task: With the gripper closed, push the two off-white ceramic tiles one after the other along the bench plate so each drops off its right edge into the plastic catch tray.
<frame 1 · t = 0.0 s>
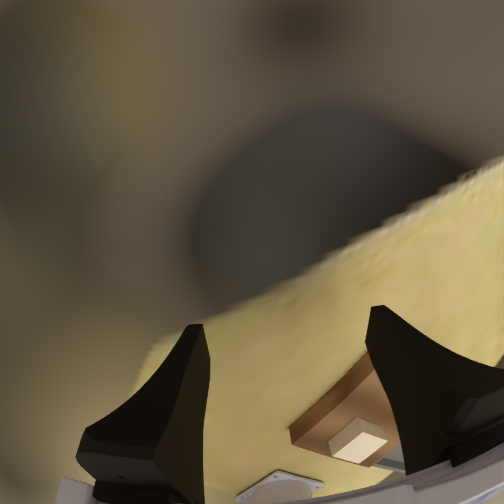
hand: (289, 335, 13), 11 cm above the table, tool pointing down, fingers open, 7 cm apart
catch tray: (431, 428, 30), on the table
tile 2: (355, 434, 26), point 2 cm above the table, touching bench plate
bench plate: (375, 403, 28), on the table
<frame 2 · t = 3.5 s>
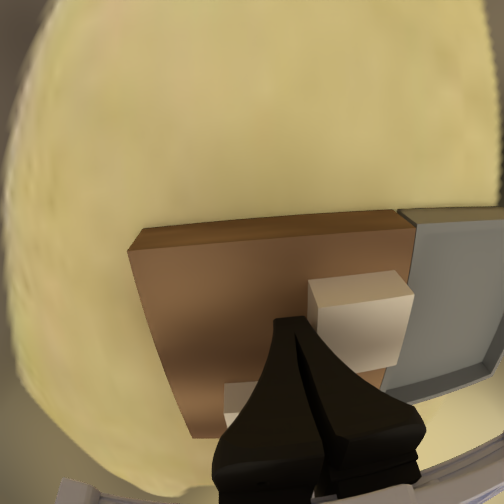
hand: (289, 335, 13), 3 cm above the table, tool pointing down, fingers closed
catch tray: (456, 307, 17), on the table
tile 1: (349, 312, 14), point 2 cm above the table, touching bench plate, gripper
tile 2: (264, 402, 16), point 2 cm above the table, touching bench plate
bench plate: (276, 336, 17), on the table
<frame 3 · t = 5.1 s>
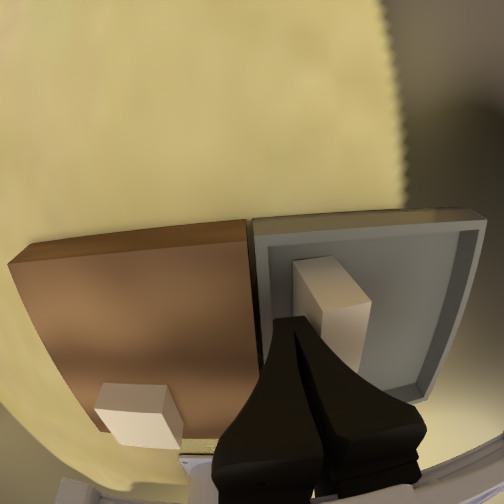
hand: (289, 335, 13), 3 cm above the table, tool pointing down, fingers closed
catch tray: (362, 325, 17), on the table
tile 1: (304, 321, 14), point 3 cm above the table, tilted 97°, touching catch tray, gripper
tile 2: (144, 405, 16), point 2 cm above the table, touching bench plate
bench plate: (153, 343, 17), on the table
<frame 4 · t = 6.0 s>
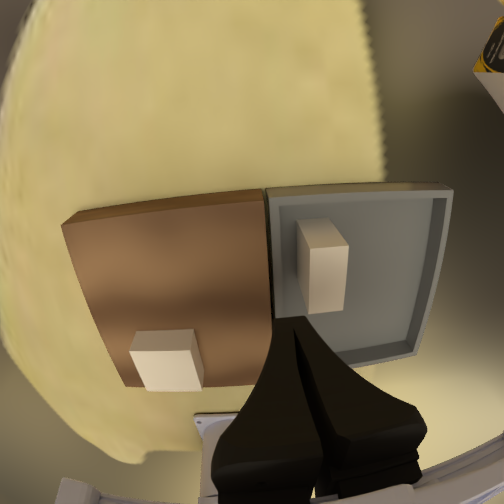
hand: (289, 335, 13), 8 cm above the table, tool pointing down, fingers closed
catch tray: (355, 280, 21), on the table
tile 1: (302, 265, 18), point 2 cm above the table, tilted 90°, touching catch tray
tile 2: (171, 351, 20), point 2 cm above the table, touching bench plate
bench plate: (180, 296, 21), on the table
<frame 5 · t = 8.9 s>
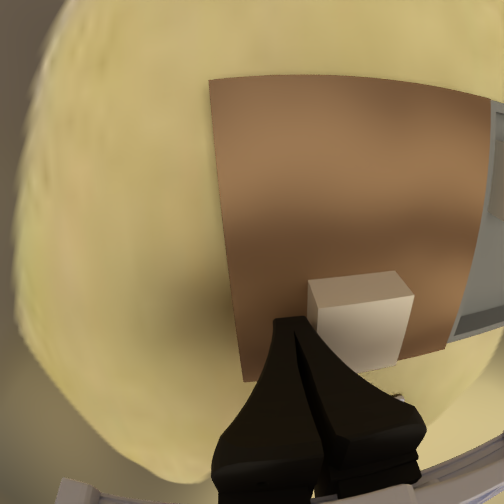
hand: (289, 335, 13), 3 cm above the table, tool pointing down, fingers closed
tile 2: (349, 312, 14), point 2 cm above the table, touching bench plate, gripper
bench plate: (355, 230, 15), on the table
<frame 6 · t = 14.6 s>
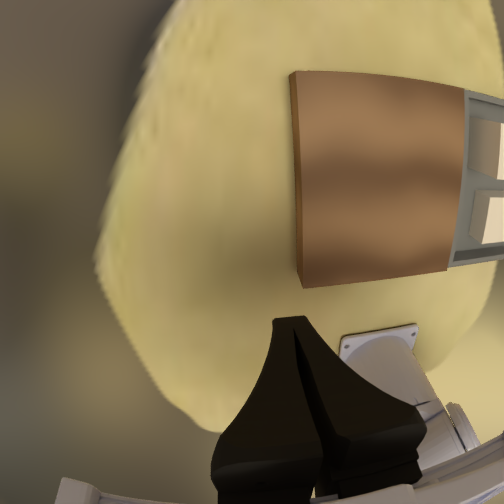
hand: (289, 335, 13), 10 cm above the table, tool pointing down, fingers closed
catch tray: (493, 178, 20), on the table
tile 1: (482, 145, 17), point 2 cm above the table, tilted 90°, touching catch tray
tile 2: (501, 220, 20), point 2 cm above the table, tilted 180°, touching catch tray
bench plate: (377, 176, 20), on the table
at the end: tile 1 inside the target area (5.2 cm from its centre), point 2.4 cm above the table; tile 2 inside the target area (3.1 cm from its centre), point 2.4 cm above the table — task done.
